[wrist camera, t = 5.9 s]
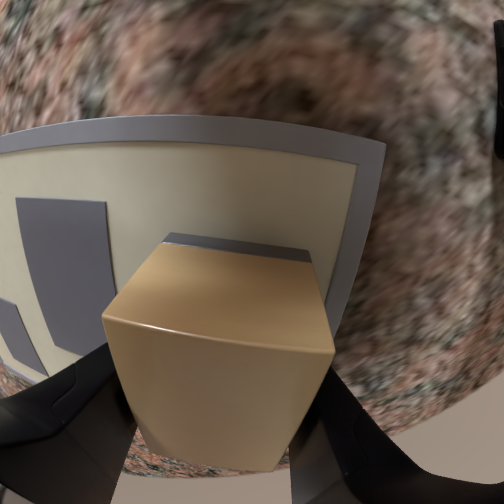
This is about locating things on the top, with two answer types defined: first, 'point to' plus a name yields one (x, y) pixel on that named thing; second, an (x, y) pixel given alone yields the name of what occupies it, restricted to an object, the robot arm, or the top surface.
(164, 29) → the top surface
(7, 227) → the memo board
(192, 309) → the eraser
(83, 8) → the top surface
